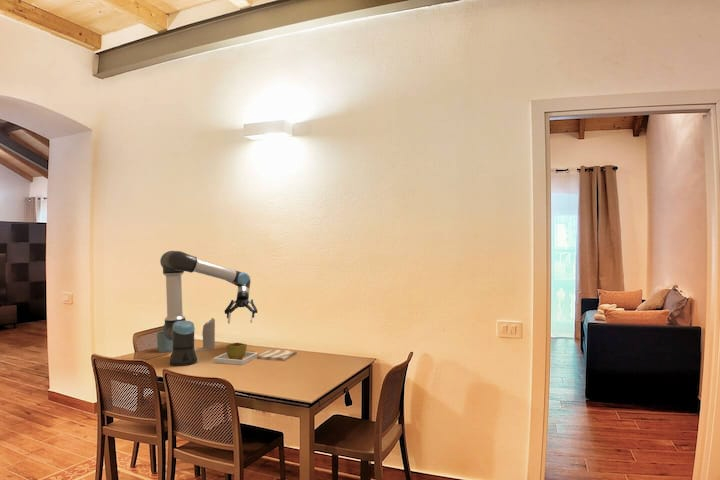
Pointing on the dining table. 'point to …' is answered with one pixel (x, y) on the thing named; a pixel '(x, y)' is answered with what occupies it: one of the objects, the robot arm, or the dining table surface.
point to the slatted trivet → (277, 355)
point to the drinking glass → (163, 343)
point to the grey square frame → (233, 361)
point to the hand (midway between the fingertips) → (239, 322)
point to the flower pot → (236, 350)
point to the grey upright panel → (208, 336)
